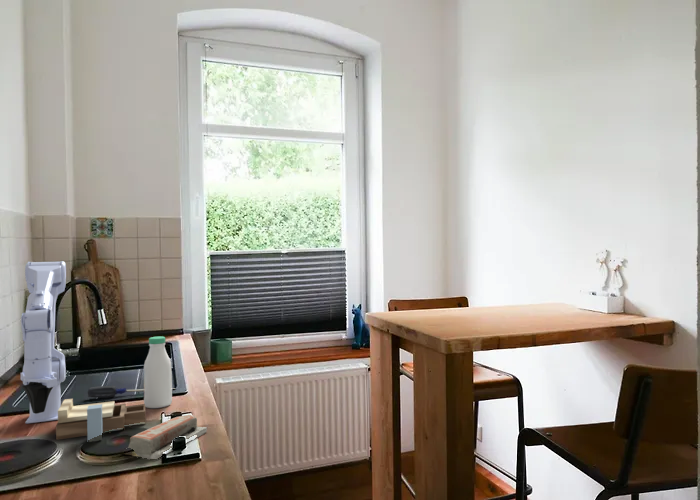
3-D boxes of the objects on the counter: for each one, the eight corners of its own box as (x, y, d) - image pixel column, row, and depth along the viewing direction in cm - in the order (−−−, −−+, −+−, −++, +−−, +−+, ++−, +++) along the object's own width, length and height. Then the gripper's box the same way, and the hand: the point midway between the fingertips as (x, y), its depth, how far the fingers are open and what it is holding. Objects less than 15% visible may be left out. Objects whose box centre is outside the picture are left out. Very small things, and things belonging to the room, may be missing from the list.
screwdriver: (176, 388, 165) (176, 377, 165) (177, 391, 162) (176, 379, 162) (88, 398, 155) (88, 386, 155) (86, 401, 152) (86, 389, 152)
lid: (64, 410, 131) (64, 399, 131) (114, 404, 136) (114, 393, 136) (58, 423, 121) (57, 411, 121) (112, 416, 126) (112, 404, 126)
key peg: (88, 438, 121) (88, 405, 121) (102, 436, 122) (102, 404, 122) (87, 442, 118) (87, 409, 118) (101, 441, 119) (101, 407, 119)
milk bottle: (177, 403, 148) (176, 336, 148) (154, 410, 142) (153, 340, 142) (161, 399, 152) (160, 334, 152) (138, 406, 146) (137, 338, 146)
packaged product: (155, 440, 107) (120, 435, 111) (156, 463, 107) (120, 457, 111) (207, 414, 124) (175, 410, 128) (207, 433, 124) (175, 429, 128)
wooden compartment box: (63, 424, 132) (63, 411, 132) (145, 413, 139) (145, 401, 139) (56, 439, 120) (56, 425, 121) (145, 427, 128) (145, 414, 128)
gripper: (69, 357, 123) (70, 412, 123) (41, 352, 131) (41, 403, 131) (38, 363, 117) (39, 420, 117) (11, 357, 125) (11, 410, 125)
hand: (38, 412), depth 124 cm, fingers closed
